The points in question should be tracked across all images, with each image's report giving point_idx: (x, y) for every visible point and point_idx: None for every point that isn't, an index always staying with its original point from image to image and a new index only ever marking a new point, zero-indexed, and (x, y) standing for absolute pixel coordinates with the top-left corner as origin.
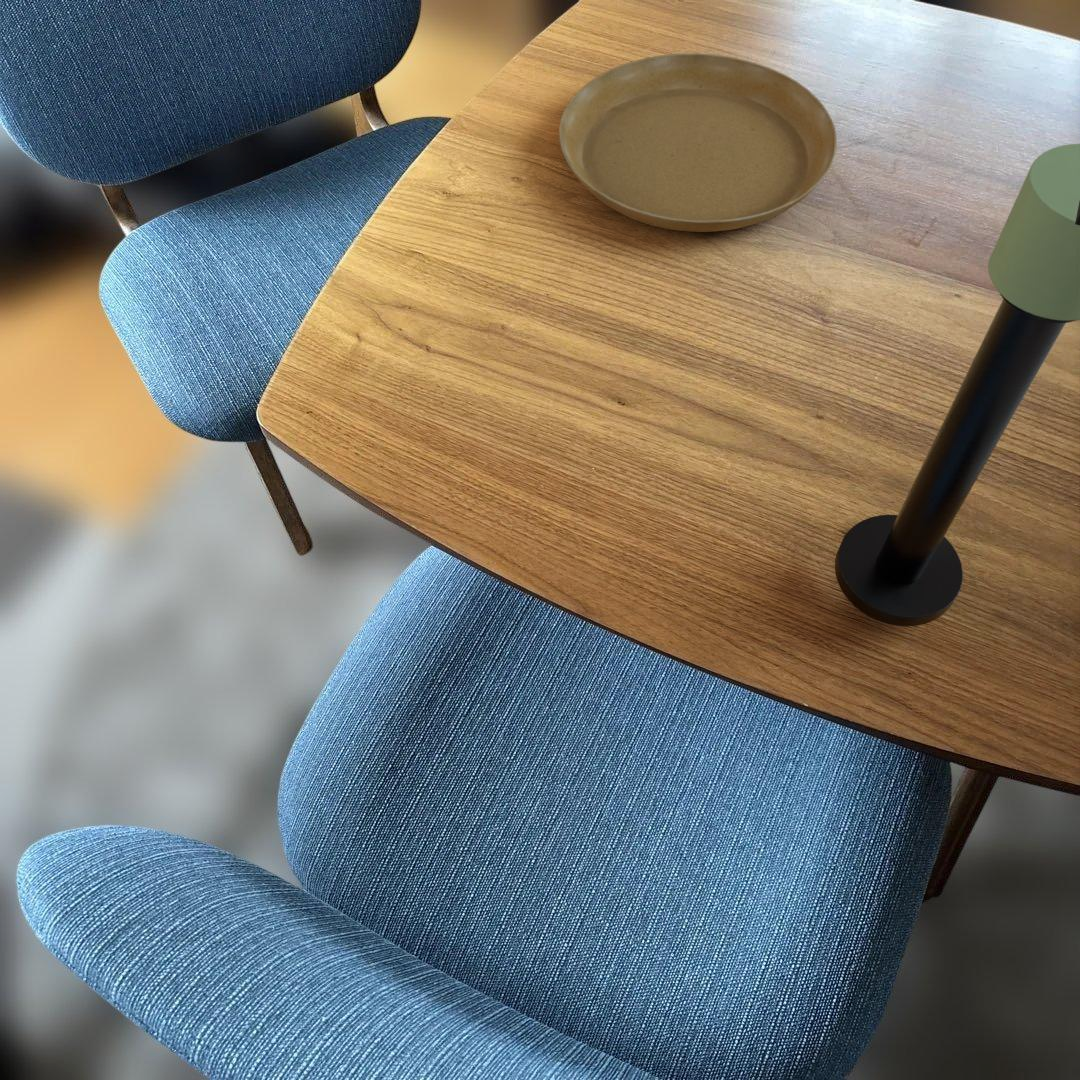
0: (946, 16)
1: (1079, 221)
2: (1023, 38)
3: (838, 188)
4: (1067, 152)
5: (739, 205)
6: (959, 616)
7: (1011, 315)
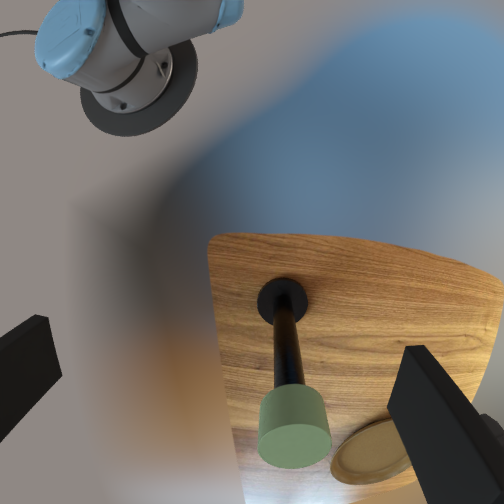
0: None
1: (423, 346)
2: None
3: None
4: (310, 461)
5: (362, 436)
6: (254, 290)
7: None
